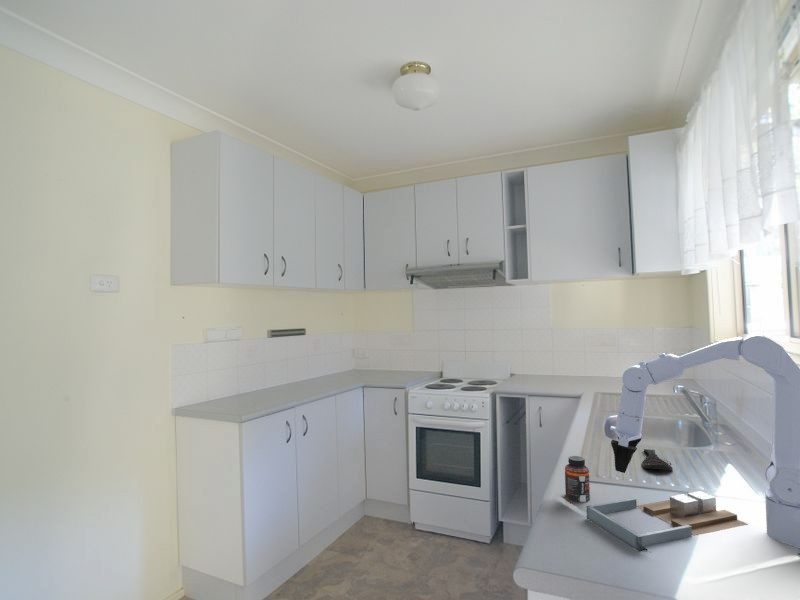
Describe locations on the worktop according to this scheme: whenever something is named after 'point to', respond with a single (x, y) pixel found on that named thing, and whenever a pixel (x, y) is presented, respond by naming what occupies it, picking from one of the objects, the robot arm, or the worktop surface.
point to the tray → (627, 535)
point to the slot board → (694, 518)
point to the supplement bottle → (577, 480)
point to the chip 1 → (683, 506)
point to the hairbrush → (655, 461)
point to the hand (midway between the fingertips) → (622, 466)
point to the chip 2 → (704, 502)
